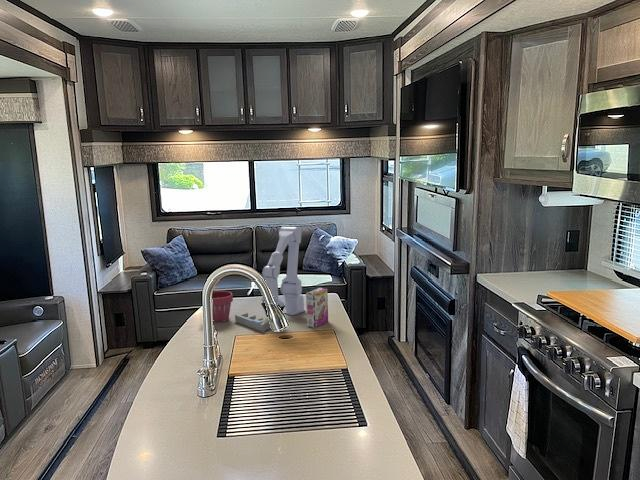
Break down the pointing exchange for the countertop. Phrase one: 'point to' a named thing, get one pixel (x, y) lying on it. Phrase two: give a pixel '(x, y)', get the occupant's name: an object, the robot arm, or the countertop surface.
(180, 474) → the countertop surface
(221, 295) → the plant pot
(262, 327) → the grey comb rack
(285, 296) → the robot arm
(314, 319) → the candy bar box
